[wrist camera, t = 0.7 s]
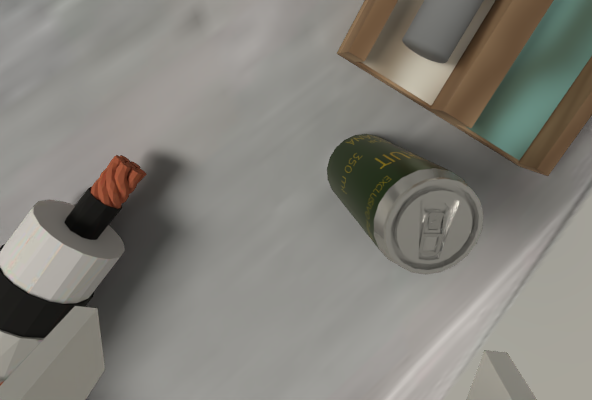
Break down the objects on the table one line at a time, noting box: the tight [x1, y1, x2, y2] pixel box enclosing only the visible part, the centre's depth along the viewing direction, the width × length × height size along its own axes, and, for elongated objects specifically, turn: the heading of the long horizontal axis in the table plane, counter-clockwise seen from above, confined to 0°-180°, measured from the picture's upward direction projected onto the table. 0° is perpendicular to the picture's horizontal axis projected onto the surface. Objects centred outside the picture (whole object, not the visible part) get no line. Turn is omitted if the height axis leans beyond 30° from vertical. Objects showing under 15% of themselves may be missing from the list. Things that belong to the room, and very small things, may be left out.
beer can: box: [327, 134, 483, 274], centre depth 23 cm, size 5×5×12 cm
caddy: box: [337, 0, 592, 176], centre depth 26 cm, size 18×14×3 cm
